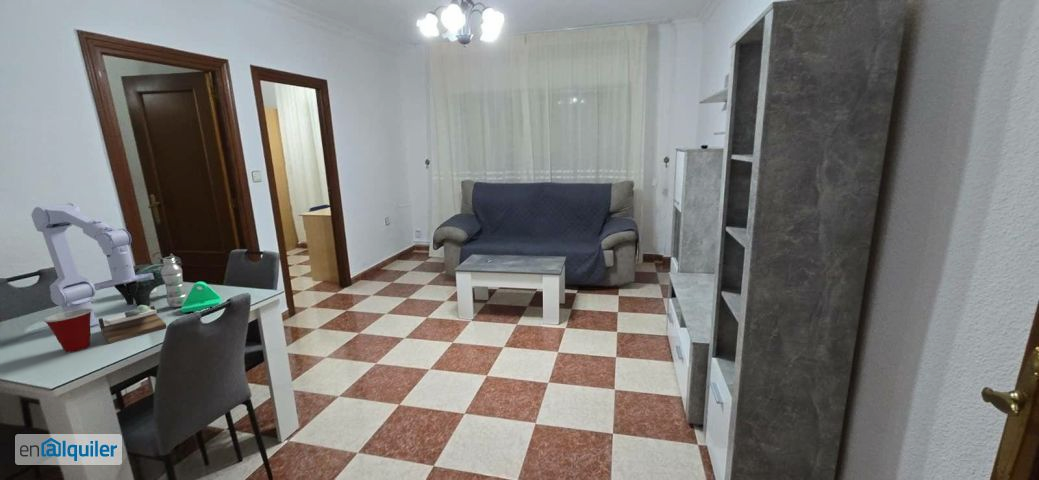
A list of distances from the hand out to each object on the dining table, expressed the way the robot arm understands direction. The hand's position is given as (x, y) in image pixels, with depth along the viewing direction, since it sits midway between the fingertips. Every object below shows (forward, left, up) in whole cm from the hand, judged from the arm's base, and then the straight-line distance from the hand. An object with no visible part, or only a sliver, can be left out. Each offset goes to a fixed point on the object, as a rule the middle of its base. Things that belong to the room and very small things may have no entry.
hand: (130, 304), depth 143 cm
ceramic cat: (-34, +14, -11) cm, 38 cm away
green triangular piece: (-9, +21, -11) cm, 25 cm away
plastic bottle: (-19, +16, -11) cm, 27 cm away
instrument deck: (-5, 0, -6) cm, 8 cm away
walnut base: (-5, 0, -11) cm, 11 cm away
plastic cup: (-1, -14, -11) cm, 18 cm away
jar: (-51, +11, -11) cm, 53 cm away
